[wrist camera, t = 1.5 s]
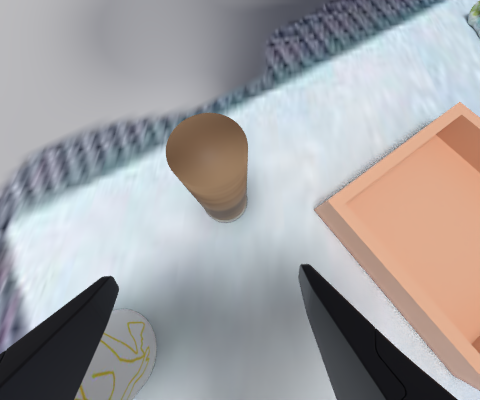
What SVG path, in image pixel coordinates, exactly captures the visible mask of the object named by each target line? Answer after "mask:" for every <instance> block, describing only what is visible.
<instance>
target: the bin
mask: <svg viewBox="0 0 480 400" xmlns="http://www.w3.org/2000/svg"><path fill="white" fill-rule="evenodd" d="M314 210H315V212H316V213H317V214H318V215H319V216H320V217H321V219H322V220H323V221H324V222H325V223H326V225H327V226H328V227H329V228H330V229H331V231H332V232H333V233H334V234H335V235H336V237H337V238H338V239H339V240H340V241H341V242H342V244H343V245H344V246H345V247H346V248H347V250H348V251H349V252H350V253H351V254H352V256H353V257H354V258H355V259H356V260H357V261H358V263H359V264H360V265H361V266H362V267H363V269H364V270H365V271H366V272H367V273H368V275H369V276H370V277H371V278H372V279H373V281H374V282H375V283H376V284H377V285H378V286H379V288H380V289H381V290H382V291H383V292H384V294H385V295H386V296H387V297H388V298H389V300H390V301H391V302H392V303H393V304H394V306H395V307H396V308H397V309H398V310H399V311H400V313H401V314H402V315H403V316H404V317H405V319H406V320H407V321H408V322H409V323H410V325H411V326H412V327H413V328H414V329H415V331H416V332H417V333H418V334H419V335H420V336H421V338H422V339H423V340H424V341H425V342H426V344H427V345H428V346H429V347H430V348H431V350H432V351H433V352H434V353H435V354H436V355H437V357H438V358H439V359H440V360H441V361H442V363H443V364H444V365H445V366H446V367H447V369H448V370H449V371H450V372H451V373H452V375H453V376H455V377H457V378H459V379H460V380H462V381H464V382H466V383H467V384H469V385H471V386H472V387H474V388H476V389H478V390H479V391H480V117H478V116H477V115H476V114H474V113H473V112H472V111H471V110H469V109H468V108H467V107H466V106H464V105H463V104H462V103H461V102H459V103H458V104H456V105H455V106H453V107H452V108H451V109H449V110H448V111H446V112H445V113H444V114H442V115H441V116H439V117H438V118H437V119H435V120H434V121H432V122H431V123H430V124H428V125H427V126H425V127H424V128H423V129H421V130H420V131H419V132H417V133H416V134H415V135H413V136H412V137H411V138H409V139H408V140H407V141H405V142H404V143H403V144H401V145H400V146H399V147H397V148H396V149H395V150H393V151H392V152H391V153H389V154H388V155H387V156H385V157H384V158H383V159H381V160H380V161H379V162H377V163H376V164H374V165H373V166H372V167H370V168H369V169H368V170H366V171H365V172H364V173H362V174H361V175H360V176H358V177H357V178H356V179H354V180H353V181H352V182H350V183H349V184H348V185H346V186H345V187H344V188H342V189H341V190H340V191H338V192H337V193H336V194H334V195H333V196H332V197H330V198H329V199H328V200H326V201H325V202H324V203H322V204H321V205H320V206H318V207H317V208H316V209H314Z"/></svg>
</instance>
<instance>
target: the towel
mask: <svg viewBox="0 0 480 400" xmlns="http://www.w3.org/2000/svg"><path fill="white" fill-rule="evenodd" d="M468 24H469V25H471V26H473V28H474V29H475V31H476V32H477V33H478V36H479V38H480V1H478V2H477V3H476V4H475V5H474V6H473V7H472V9H471V11H470V13H469V19H468Z"/></svg>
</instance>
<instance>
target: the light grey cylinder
mask: <svg viewBox="0 0 480 400" xmlns="http://www.w3.org/2000/svg"><path fill="white" fill-rule="evenodd" d="M156 353H157V344H156V337H155V334H154V331H153V329H152V327H151V325H150V323H149V322H148V321H147V319H146V318H145V317H144V316H142V315H141V314H139V313H138V312H136V311H133V310H129V309H117V310H113V311H112V313H111V316H110V319H109V321H108V324H107V327H106V329H105V331H104V334H103V336H102V338H101V340H100V343H99V345H98V347H97V349H96V352H95V354H94V356H93V358H92V361H91V363H90V365H89V367H88V370H87V372H86V374H85V377H84V379H83V381H82V383H81V386H80V388H79V390H78V392H77V395H76V397H75V399H74V400H133V398H134V397H135V396H136V394H137V393H138V392H139V391H140V389H141V388H142V387H143V385H144V384H145V383H146V381H147V380H148V378H149V376H150V374H151V372H152V370H153V367H154V364H155V360H156Z"/></svg>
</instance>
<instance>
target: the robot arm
mask: <svg viewBox="0 0 480 400" xmlns="http://www.w3.org/2000/svg"><path fill="white" fill-rule="evenodd" d="M299 283H300V287H301V292H302V296H303V300H304V304H305V309H306V312H307V316H308V319H309V322H310V325H311V327H312V330H313V333H314V336H315V339H316V342H317V345H318V348H319V350H320V353H321V356H322V359H323V362H324V365H325V368H326V370H327V373H328V376H329V379H330V382H331V385H332V388H333V390H334V393H335V396H336V399H337V400H457V399H456V398H455V397H454V396H453V395H451V394H450V393H449V392H448V391H447V390H446V389H444V388H443V387H442V386H441V385H440V384H438V383H437V382H436V381H435V380H434V379H432V378H431V377H430V376H429V375H428V374H426V373H425V372H424V371H423V370H422V369H420V368H419V367H418V366H417V365H416V364H415V363H413V362H412V361H411V360H410V359H409V358H408V357H407V356H405V355H404V354H403V353H402V352H401V351H400V350H399V349H398V348H396V347H395V346H394V345H393V344H392V343H391V342H390V341H389V340H388V339H387V338H386V337H385V336H384V335H383V334H381V333H380V332H379V331H378V330H377V329H375V327H374V326H373V325H372V324H371V323H370V322H369V321H368V320H367V319H366V318H365V317H364V316H363V315H362V314H361V313H360V312H359V311H357V310H356V309H355V308H354V307H353V306H352V305H351V304H350V303H349V302H348V301H347V300H346V299H345V298H344V297H343V296H342V295H341V294H340V293H339V292H338V291H337V290H336V289H335V288H334V287H333V286H331V285H330V284H329V283H328V282H327V281H326V280H325V279H324V278H323V277H322V276H321V275H320V274H319V273H318V272H317V271H316V270H315V269H314V268H313V267H312V266H311V265H309V264H301V265H300V268H299ZM118 292H119V287H118V285H117V283H116V281H115V279H114V278H113V277H112V276H104V277H102V278H100V279H99V280H97V281H96V282H95V283H93V284H92V285H91V286H90V287H88V288H87V289H86V290H84V291H83V292H82V293H80V294H79V295H78V296H76V297H75V298H74V299H72V300H71V301H70V302H68V303H67V304H66V305H64V306H63V307H62V308H61V309H59V310H58V311H57V312H55V313H54V314H53V315H51V316H50V317H49V318H47V319H46V320H45V321H43V322H42V323H41V324H39V325H38V326H37V327H35V328H34V329H33V330H32V331H30V332H29V333H28V334H26V335H25V336H24V337H22V338H21V339H20V340H18V341H17V342H16V343H14V344H13V345H12V346H10V347H9V348H8V349H7V350H6V351H4V352H2V353H1V354H0V400H74V399H75V397H76V395H77V392H78V390H79V388H80V386H81V383H82V381H83V379H84V377H85V374H86V372H87V370H88V367H89V365H90V363H91V361H92V358H93V356H94V354H95V352H96V349H97V347H98V345H99V343H100V340H101V338H102V336H103V334H104V331H105V329H106V327H107V324H108V321H109V319H110V316H111V313H112V310H113V307H114V304H115V301H116V298H117V295H118Z"/></svg>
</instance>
